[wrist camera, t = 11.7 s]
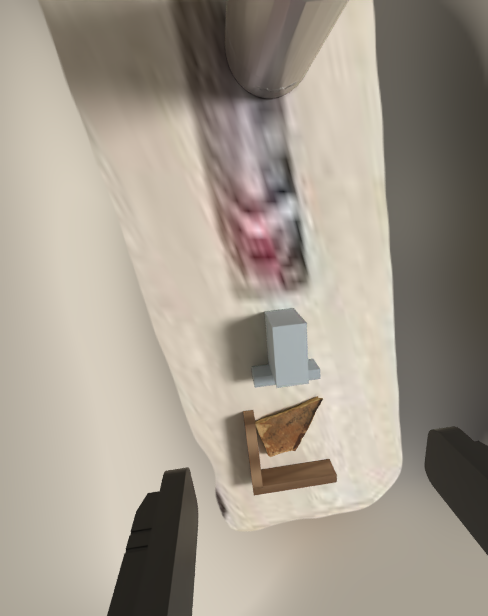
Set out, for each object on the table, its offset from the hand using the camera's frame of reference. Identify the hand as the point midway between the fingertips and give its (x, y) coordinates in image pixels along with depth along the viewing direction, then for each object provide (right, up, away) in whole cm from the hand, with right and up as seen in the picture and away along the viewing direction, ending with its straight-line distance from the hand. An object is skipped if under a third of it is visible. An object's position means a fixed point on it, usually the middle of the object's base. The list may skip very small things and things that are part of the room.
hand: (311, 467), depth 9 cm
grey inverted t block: (+3, +1, +30) cm, 30 cm away
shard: (+4, -12, +35) cm, 37 cm away
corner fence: (+5, -16, +35) cm, 39 cm away
